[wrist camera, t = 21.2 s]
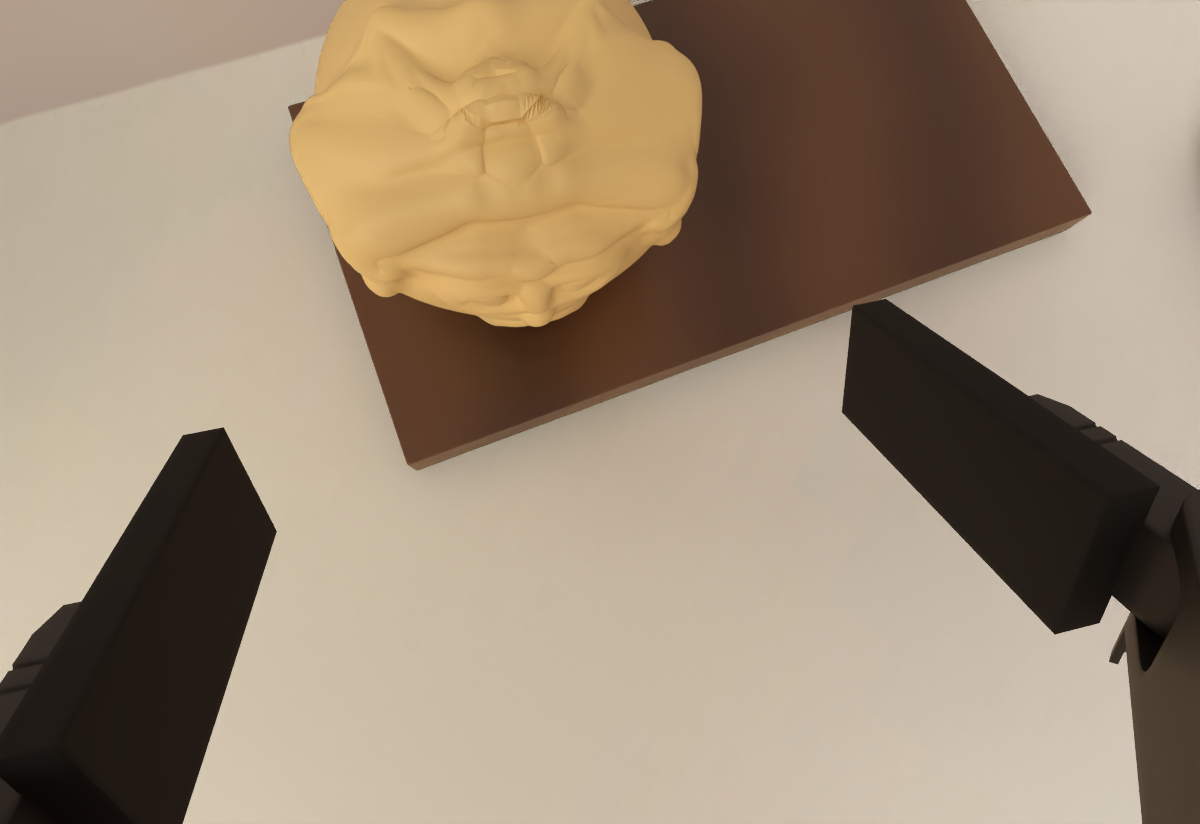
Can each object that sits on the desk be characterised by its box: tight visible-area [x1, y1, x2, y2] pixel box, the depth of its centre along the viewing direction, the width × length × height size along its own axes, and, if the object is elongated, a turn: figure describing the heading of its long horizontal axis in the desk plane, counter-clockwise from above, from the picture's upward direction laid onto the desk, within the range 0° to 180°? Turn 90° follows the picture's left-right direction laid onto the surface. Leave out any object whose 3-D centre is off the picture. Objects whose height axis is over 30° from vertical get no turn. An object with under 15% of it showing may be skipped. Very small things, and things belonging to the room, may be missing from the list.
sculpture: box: [289, 0, 702, 327], centre depth 21 cm, size 12×12×11 cm
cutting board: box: [288, 0, 1092, 470], centre depth 28 cm, size 30×16×2 cm, turn 111°
